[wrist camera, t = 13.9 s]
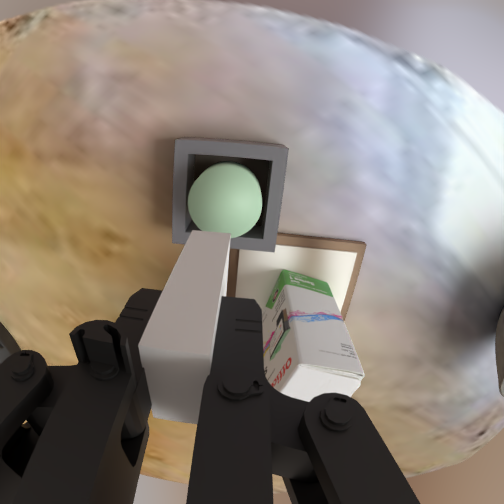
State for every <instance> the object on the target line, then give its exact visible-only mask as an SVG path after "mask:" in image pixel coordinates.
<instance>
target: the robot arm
mask: <svg viewBox="0 0 504 504" xmlns="http://www.w3.org/2000/svg"><path fill="white" fill-rule="evenodd" d="M230 238H231V233H220V232H209V231H197V230H192V232H191V234H190V236H189V238H188V240H187V242H186V244H185V246H184V248H183V250H182V252H181V254H180V256H179V258H178V260H177V262H176V264H175V266H174V268H173V270H172V272H171V274H170V277H169V279H168V281H167V283H166V285H165V287H164V289H163V291H161V290H153V289H145V288H142V289H140V290H139V291H137V292H136V293H135V294H133V295H132V296H131V297H130V298H129V300H128V302H127V303H126V305H125V308H124V309H123V310H122V312H121V314H120V317H118V319H117V320H116V322H115V323H114V322H111V321H108V320H94V321H89V322H85V323H83V324H81V325H79V326H77V327H76V328H75V329H74V330H73V331H72V332H71V333H70V334H69V335H70V338H71V341H72V344H73V347H74V350H75V353H76V356H77V358H78V361H79V362H78V364H77V365H72V366H47V363H46V361H45V359H44V358H43V357H42V356H41V355H40V353H38V352H35V351H32V350H22V351H21V350H20V348H19V346H18V345H17V343H16V342H15V340H14V339H13V337H12V336H11V335H10V333H9V332H8V331H7V330H6V329H5V327H4V326H3V325H2V324H1V323H0V504H133V501H134V497H135V492H136V487H137V482H138V479H139V474H140V470H141V466H142V462H143V458H144V453H145V449H146V445H147V441H148V437H149V425H148V422H147V420H148V417H149V413H150V410H151V409H152V413H153V417H154V418H160V419H166V420H172V421H178V422H185V423H192V424H197V431H196V437H195V444H194V451H193V458H192V465H191V472H190V479H189V487H188V495H187V503H186V504H273V482H272V474H275V475H279V476H282V478H283V481H284V483H285V486H286V489H287V492H288V494H289V497H290V500H291V502H292V504H420V502H419V501H418V499H417V497H416V495H415V494H414V492H413V490H412V489H411V487H410V485H409V484H408V482H407V480H406V478H405V477H404V475H403V473H402V472H401V470H400V468H399V466H398V465H397V463H396V461H395V460H394V458H393V456H392V455H391V453H390V451H389V450H388V448H387V446H386V445H385V443H384V441H383V440H382V438H381V436H380V435H379V433H378V431H377V430H376V428H375V426H374V425H373V423H372V421H371V420H370V418H369V416H368V415H367V413H366V411H365V410H364V408H363V407H362V406H361V405H360V404H359V403H358V402H357V401H356V400H354V399H353V398H351V397H349V396H347V395H344V394H340V393H323V394H321V395H318V396H316V397H314V398H313V399H312V400H311V401H310V402H307V401H303V400H300V399H296V398H293V397H290V396H287V395H284V394H282V393H280V392H279V391H277V390H276V389H274V387H273V386H272V385H271V384H270V383H269V382H268V380H267V378H266V376H265V372H264V353H263V333H262V332H263V327H262V309H261V308H260V306H259V305H258V303H257V302H256V300H255V299H248V298H237V297H227V296H226V292H227V278H228V264H229V251H230ZM25 420H27V421H28V422H27V423H25V424H23V423H24V421H25Z"/></svg>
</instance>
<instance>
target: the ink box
mask: <svg viewBox="0 0 504 504" xmlns="http://www.w3.org/2000/svg"><path fill="white" fill-rule="evenodd" d="M262 327H263V332H262V333H263V353H264V372H265V376H266V378H267V380H268V382H269V383H270V384H271V385H272V386H273V387H274V389H276V390H277V391H279V392H280V393H282V394H284V395H287V396H290V397H293V398H296V399H300V400H303V401H307V402H310V401H311V400H312V399H313V398H314V397H316V396H318V395H321V394H323V393H340V394H344V395H347V396H349V397H351V396H352V394H353V393H354V392H355V391H356V390H357V389H358V388H359V387H360V384H361V382H360V381H361V380H362V378H363V377H364V376H365V374H364V371H363V369H362V366H361V364H360V361H359V358H358V356H357V353H356V351H355V348H354V346H353V343H352V341H351V338H350V336H349V333H348V331H347V328H346V326H345V323H344V321H343V318H342V316H341V313H340V311H339V308H338V306H337V303H336V301H335V299H334V297H333V294H332V292H331V289H330V287H329V285H328V283H327V282H324V281H321V280H318V279H315V278H312V277H308V276H305V275H302V274H299V273H295V272H292V271H288V270H282V271H281V273H280V276H279V278H278V280H277V282H276V284H275V287H274V289H273V291H272V293H271V295H270V297H269V300H268V302H267V304H266V306H265V308H264V310H263V312H262Z"/></svg>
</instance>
